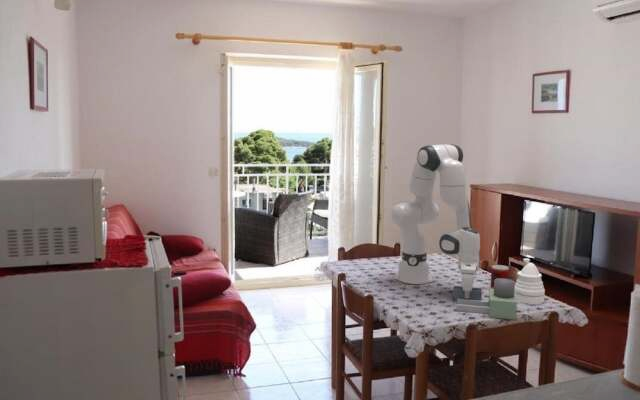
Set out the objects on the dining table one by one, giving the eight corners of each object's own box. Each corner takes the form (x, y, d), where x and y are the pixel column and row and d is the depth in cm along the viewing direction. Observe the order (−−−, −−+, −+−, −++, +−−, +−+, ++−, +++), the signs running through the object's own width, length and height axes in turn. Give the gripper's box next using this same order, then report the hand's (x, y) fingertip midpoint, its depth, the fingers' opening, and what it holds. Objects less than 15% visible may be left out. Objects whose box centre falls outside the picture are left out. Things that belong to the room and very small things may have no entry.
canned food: (507, 288, 261) (508, 265, 260) (508, 293, 254) (509, 269, 252) (490, 286, 263) (491, 264, 262) (490, 291, 256) (491, 268, 254)
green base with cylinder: (457, 301, 241) (458, 272, 239) (513, 306, 234) (514, 276, 233) (455, 313, 224) (457, 282, 223) (515, 319, 218) (517, 287, 216)
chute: (453, 296, 248) (453, 285, 248) (481, 299, 245) (481, 288, 244) (452, 299, 244) (453, 288, 243) (481, 302, 240) (481, 291, 240)
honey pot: (507, 299, 244) (509, 259, 242) (521, 293, 253) (523, 255, 251) (536, 306, 235) (538, 264, 233) (549, 300, 244) (551, 260, 242)
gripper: (461, 258, 253) (460, 288, 255) (460, 269, 234) (458, 301, 235) (476, 259, 251) (474, 289, 253) (475, 270, 232) (474, 302, 234)
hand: (467, 295), depth 244 cm, fingers open, 6 cm apart
